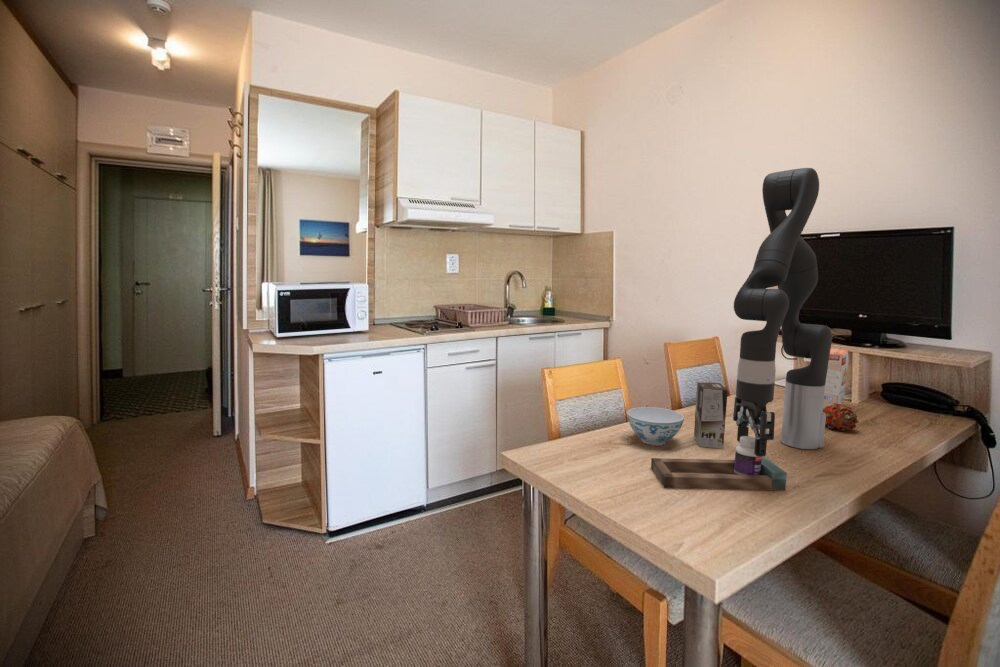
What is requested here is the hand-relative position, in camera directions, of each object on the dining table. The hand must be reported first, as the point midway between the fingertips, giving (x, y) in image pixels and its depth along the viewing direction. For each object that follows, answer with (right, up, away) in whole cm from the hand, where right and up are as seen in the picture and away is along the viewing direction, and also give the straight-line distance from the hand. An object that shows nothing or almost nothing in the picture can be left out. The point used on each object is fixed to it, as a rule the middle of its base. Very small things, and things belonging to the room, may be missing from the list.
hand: (750, 448), depth 114 cm
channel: (-8, -7, +1) cm, 11 cm away
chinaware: (-14, -4, +26) cm, 30 cm away
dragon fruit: (+45, -3, +39) cm, 60 cm away
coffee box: (+1, -4, +26) cm, 26 cm away
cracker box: (+57, -1, +59) cm, 82 cm away
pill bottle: (-1, -7, +1) cm, 8 cm away
